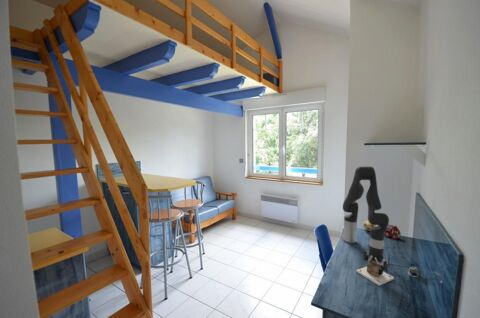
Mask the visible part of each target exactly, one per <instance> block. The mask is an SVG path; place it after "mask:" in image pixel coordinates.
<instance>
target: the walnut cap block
mask: <svg viewBox="0 0 480 318" xmlns="http://www.w3.org/2000/svg"><path fill="white" fill-rule="evenodd" d="M366 266H367V272H369V273H371V274H372V275H374V276H376V277H378V276H380V275H379V266H378V265H377V263H376V262H375V261H370V262H367V261H366Z"/></svg>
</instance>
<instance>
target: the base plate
mask: <svg viewBox="0 0 480 318" xmlns="http://www.w3.org/2000/svg"><path fill="white" fill-rule="evenodd" d="M356 273H358V274H359V275H361V276H362V277H364V278H365V279H368V280H369V281H371V282H372V283H374V284H376V285H377V286H379V287H380V286H382V285H384V284H387V283H388V282H391V281H393V280H395V278H394V276H392V275H391V274H389V273H387V272H385V271H383V274H382V275H380V276H378V277H376V276H374V275H372V274H371V273H369V272H367V265H366V266H364V267H361V268H358V269H356Z"/></svg>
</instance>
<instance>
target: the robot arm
mask: <svg viewBox="0 0 480 318" xmlns="http://www.w3.org/2000/svg"><path fill="white" fill-rule="evenodd" d="M352 179H353V180H352V182H351V185H350V188H349V190H348V193H347V195H346V197H345V199H344V201H343V204H342V211H343V212H345V213H348V214H346V215H345V216H344V219H343V220H344V221H343V222H344V223H343V227H342V238H341V239H342V240H343V241H344V242H346V243H349V244H355V243H356V242H357V228H358V227H357V225H358V224H357V223H358V214H359V204H358V203H359V202H357V201H358V200H360V199H361V198H362V197H363V194H364V192H365V188H364V186H363V185H362V184H361V181H369V188H368V189H367V192H366V193H365V194H366V195H365V198H366V199H365V200H366V204H367V209H368V211H367V220H368V221H369V222H370V224H372V225H375V226H376V227H373V228H371V231H369V233H370V234H369V235H370V236H369V243H368V244H369V245H368V250H367V249H366V250H364V251H363V256H364V257H363V258H364V261H366V263H367V262H370V261H375V262H376V263H377V265H378V266H379V275H382V274H383V272H384V271H386V270H387V269H388V267H389V263H390V262H389V260H388V259H385V257H384V251H385V235H384V233H385V231H386V228H387V226H388V224H389V223H390V219H389V216H388V214H386V213H383V212H382V213H381V212H375V211H379V210H381V209H382V203H381V199H380V197H379V192H378V182H377V175H376V171H375V168H374V167H373V166H357V167H356V169H355V170H354V175H353V178H352Z"/></svg>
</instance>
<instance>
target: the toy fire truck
mask: <svg viewBox="0 0 480 318" xmlns="http://www.w3.org/2000/svg"><path fill="white" fill-rule="evenodd" d="M401 235H402V234H401V231H400V229H399V228H398V226H397V225H392V224H389V223H388V226H387V228H386V231H385V233H384V237H385V238H389V237H391V239H393V240H397V239H398V238H401Z"/></svg>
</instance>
